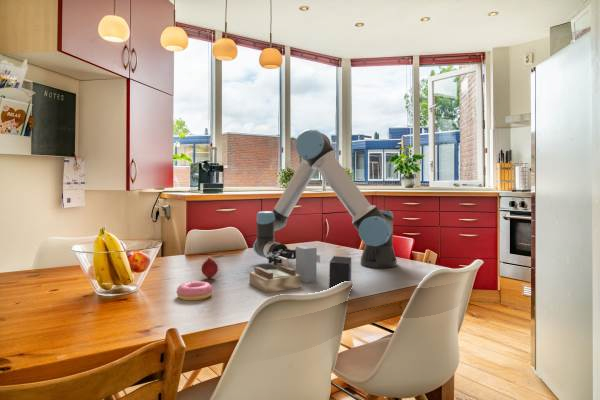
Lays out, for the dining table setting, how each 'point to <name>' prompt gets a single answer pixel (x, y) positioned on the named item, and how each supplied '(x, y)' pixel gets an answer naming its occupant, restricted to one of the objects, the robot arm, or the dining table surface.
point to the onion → (209, 268)
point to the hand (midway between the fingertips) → (303, 260)
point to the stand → (275, 278)
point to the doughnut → (194, 290)
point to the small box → (339, 270)
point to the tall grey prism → (306, 263)
